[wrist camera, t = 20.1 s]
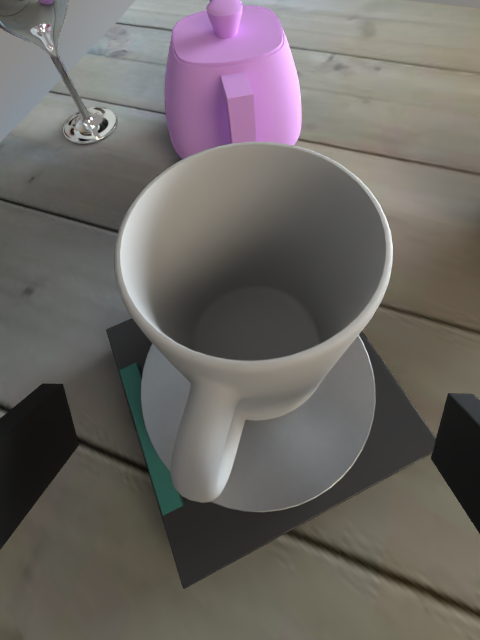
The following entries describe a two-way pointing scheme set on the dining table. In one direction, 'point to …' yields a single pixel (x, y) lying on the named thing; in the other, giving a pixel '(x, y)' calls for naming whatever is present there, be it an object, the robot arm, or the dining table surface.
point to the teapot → (230, 80)
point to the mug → (249, 287)
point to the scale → (263, 527)
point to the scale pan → (276, 433)
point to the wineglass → (56, 61)
